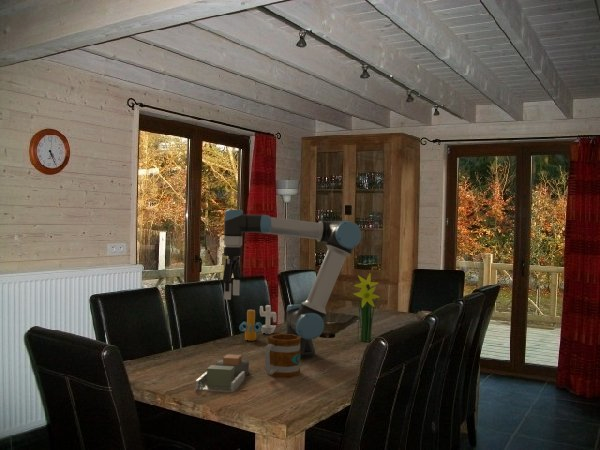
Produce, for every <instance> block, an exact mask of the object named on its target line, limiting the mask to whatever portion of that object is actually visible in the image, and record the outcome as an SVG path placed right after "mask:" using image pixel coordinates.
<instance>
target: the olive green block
mask: <svg viewBox="0 0 600 450" xmlns="http://www.w3.org/2000/svg"><path fill="white" fill-rule="evenodd" d="M234 367H235V366H218V365H216V364H210V365H209V366H208V367H207V369H206V371H207V385H218V386H231V382H232V381H233V380H234Z"/></svg>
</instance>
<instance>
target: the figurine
mask: <svg viewBox="0 0 600 450" xmlns="http://www.w3.org/2000/svg"><path fill="white" fill-rule="evenodd" d="M271 308H272V307H271V305H269V304H266V305H265V311H264V306H263V305H260V306H259V315H260V317H264V318H265V324H262V328H261V330H260V331H261V334H263V333H265V334H266V335H272V334H273V333H274V332H275V329H276V328H277V325H274V324H273V325H272V324H271V318H272V322H273V323H276V322H277V313H276V312H275V311H272V309H271ZM260 327H261V326H260Z"/></svg>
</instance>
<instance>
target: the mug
mask: <svg viewBox="0 0 600 450" xmlns="http://www.w3.org/2000/svg"><path fill="white" fill-rule="evenodd" d="M267 340H268V344H267V345H266V346H265V348H264V349H265V350H264V369H265V370H264V371H265V373H266V374H267V375H268V376H270V377H273V378H282V379H289V378H295V377H298V376H299V375H300V374H301V359H300V357H301V353H300V342H301V336H297V335H294V334H286V333H277V334H269V336H268V337H267Z"/></svg>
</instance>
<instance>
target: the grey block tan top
mask: <svg viewBox="0 0 600 450" xmlns="http://www.w3.org/2000/svg"><path fill="white" fill-rule="evenodd" d="M215 365H218V366H235V367H234V378H236V377H237V376H238V375H239V374H240V373H241V372H242V371H245V377H247V376H248V375H249V371H250V362H249V361H248V360H246V359H243V355H242V354H232V353H231V354H225V355H224V356H223V358H222V359H219V360H217V361H216V362H215Z"/></svg>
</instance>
